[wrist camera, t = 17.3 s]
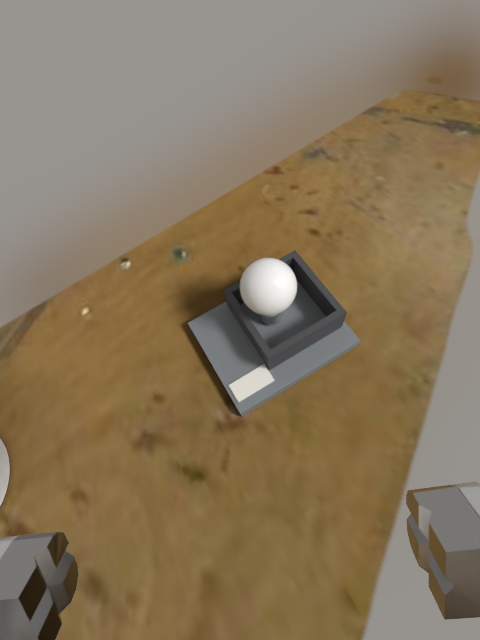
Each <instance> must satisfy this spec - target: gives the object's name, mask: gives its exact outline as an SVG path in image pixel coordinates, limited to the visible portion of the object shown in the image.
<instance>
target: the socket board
mask: <svg viewBox="0 0 480 640" xmlns="http://www.w3.org/2000/svg"><path fill="white" fill-rule="evenodd" d="M278 260H281V261H283V262H284V263H286V264H287V265H288V266H289V267H290V268H291V269H292V271H293V272H294V274H295V277H296V280H297V293H296V297H295V299H294V301H293V303H292V304H291V305H290V306H289V307H288V308H287V309H286V310H285V311H283V312H282V317H281V320H280V321H279V322H278V323H277V324H274V325H268V324H266V323H264V322H263V321H262V319H261V315H260V314H257V313H255V312H253V311H252V310H250V309H249V308H248V307H247V306H246V304H245V303H244V301H243V300H242V297H241V294H240V281H239V282H237V283H236V284H234V285H232V286H230V287H228V288H227V289H225V290H223V293H224V296H225V299H226V302H224V303H222V304H220V305H219V306H217V307H215V308H213V309H211V310H210V311H208V312H206V313H204V314H203V315H201V316H199V317H197V318H195V319H194V320H192V321H190V322H188V324H189V326H190V328H191V330H192V331H193V333H194V335H195V337H196V338H197V340H198V342H199V344H200V345H201V347H202V349H203V350H204V352H205V354H206V356H207V357H208V359H209V361H210V363H211V364H212V366H213V368H214V369H215V371H216V373H217V375H218V376H219V378H220V380H221V382H222V383H223V385H224V387H225V388H226V390H227V392H228V394H229V395H230V397H231V399H232V401H233V402H234V404H235V406H236V407H237V409H238V411H239V413H240V414H241V416H242V417H243V416H244V415H246V414H247V413H249V412H251V411H252V410H254V409H256V408H257V407H259V406H260V405H262V404H264V403H265V402H267V401H269V400H270V399H272V398H273V397H275V396H277V395H278V394H280V393H282V392H283V391H285V390H287V389H288V388H290V387H291V386H293V385H295V384H296V383H298V382H300V381H301V380H303V379H304V378H306V377H308V376H309V375H311V374H313V373H314V372H316V371H317V370H319V369H321V368H322V367H324V366H326V365H327V364H329V363H331V362H332V361H334V360H335V359H337V358H339V357H340V356H342V355H344V354H345V353H347V352H348V351H350V350H352V349H353V348H355V347H357V346H358V345H359V343H360V340H359V338H358V337H357V336H356V335H355V334H354V332H353V331H352V330H351V329H350V327H349V326H348V325H347V324H346V323H345V321H344V319H345V315H346V311H345V310H344V309H343V308H342V306H341V305H340V304H339V303H338V302H337V300H336V299H335V298H334V297H333V295H332V294H331V293H330V292H329V291H328V289H327V288H326V287H325V286H324V285H323V283H322V282H321V281H320V280H319V279H318V277H317V276H316V275H315V274H314V273H313V271H312V270H311V269H310V268H309V267H308V265H307V264H306V263H305V262H304V261H303V259H302V258H301V257H300V256H299V255H298V253H297V252H296V251H293V252H291V253H289V254H287V255H286V256H284V257H282V258H280V259H278Z"/></svg>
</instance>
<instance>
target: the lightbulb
mask: <svg viewBox="0 0 480 640" xmlns="http://www.w3.org/2000/svg"><path fill="white" fill-rule="evenodd" d="M296 293H297V280H296V277H295V274H294V272H293V271H292V269H291V268H290V267H289V266H288V265H287V264H286V263H284V262H283V261H281V260H278V259H275V258H262V259H259V260H256V261H254V262H253V263H251V264H250V265H249V266H248V267H247V268H246V269H245V271H244V272H243V274H242V276H241V279H240V294H241V297H242V300H243V301H244V303H245V304H246V306H247V307H248V308H249V309H250V310H252V311H253V312H255V313H257V314H260V315H261V319H262V321H263V322H264V323H266V324H268V325H274V324H277V323H278V322H279V321H280V320H281V317H282V312H283V311H285V310H286V309H287V308H288V307H289V306H290V305H291V304H292V303H293V301H294V299H295V297H296Z"/></svg>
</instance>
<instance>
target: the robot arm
mask: <svg viewBox="0 0 480 640" xmlns="http://www.w3.org/2000/svg"><path fill="white" fill-rule="evenodd" d="M9 473H10V464H9V457H8V453H7V450H6V447H5V445H4V443H3V442H2V440H1V439H0V506H1V504H2V502H3V499H4V496H5V493H6V490H7V486H8V482H9ZM406 504H407V506H408V508H409V510H410V512H411V515H410V516H409V517H408V518H407V531H408V536H409V540H410V544H411V547H412V550H413V553H414V555H415V558H416V560H417V562H418V564H419V566H420V567H421V568H423V569H424V570H425V571H427V572H428V573H429V588H430V590H431V592H432V594H433V596H434V598H435V600H436V602H437V604H438V606H439V608H440V611H441V613H442V615H443V617H444V619H460V618H475V617H480V484H479V483H477V482H470V483H462V484H454V485H447V486H439V487H431V488H424V489H415V490H408V492H407V495H406ZM68 544H69V542H68V540H67V538H66V536H65V534H64V533H63V532H52V533H40V534H29V535H20V536H11V537H0V640H55V639H56V637H57V635H58V632H59V630H60V628H61V625H62V621H61V617H60V613H61V612H62V611H63V610H64V609H65V608H66V607H67V606H68V605H69V604H70V603H71V601H72V599H73V596H74V594H75V591H76V588H77V581H78V565H77V562H76V560H75V557H74V556H73V555H71V554H70V553H68V552H67V551H66V548H67V546H68Z"/></svg>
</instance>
